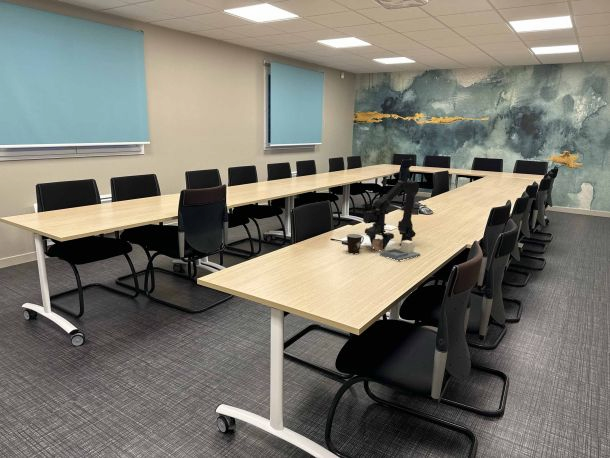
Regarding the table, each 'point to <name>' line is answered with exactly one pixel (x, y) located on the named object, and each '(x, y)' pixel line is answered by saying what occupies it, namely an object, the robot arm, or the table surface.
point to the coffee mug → (354, 242)
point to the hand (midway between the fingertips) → (378, 247)
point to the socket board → (401, 251)
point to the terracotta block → (377, 244)
